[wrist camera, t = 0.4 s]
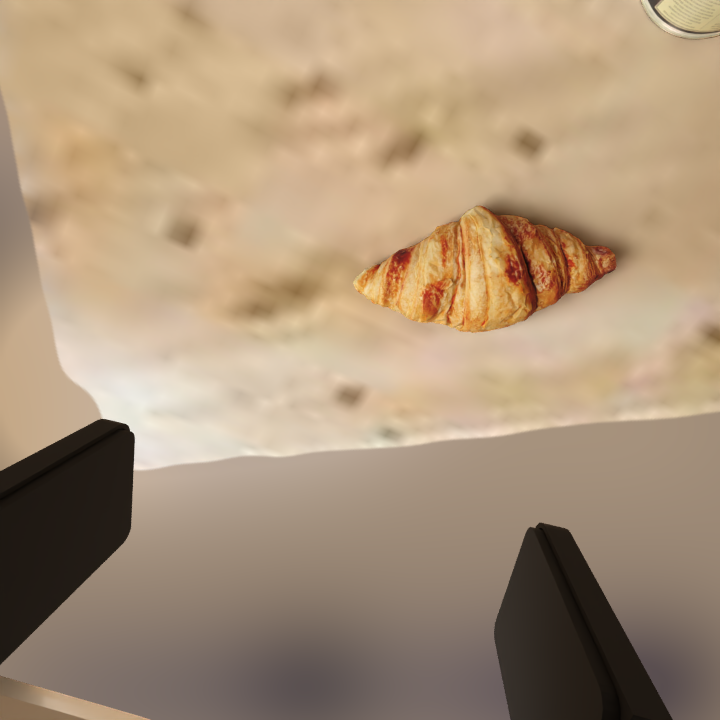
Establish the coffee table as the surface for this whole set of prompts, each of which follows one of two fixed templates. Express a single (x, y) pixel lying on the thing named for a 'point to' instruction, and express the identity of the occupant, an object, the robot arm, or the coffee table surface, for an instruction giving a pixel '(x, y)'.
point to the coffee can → (685, 17)
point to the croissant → (484, 272)
